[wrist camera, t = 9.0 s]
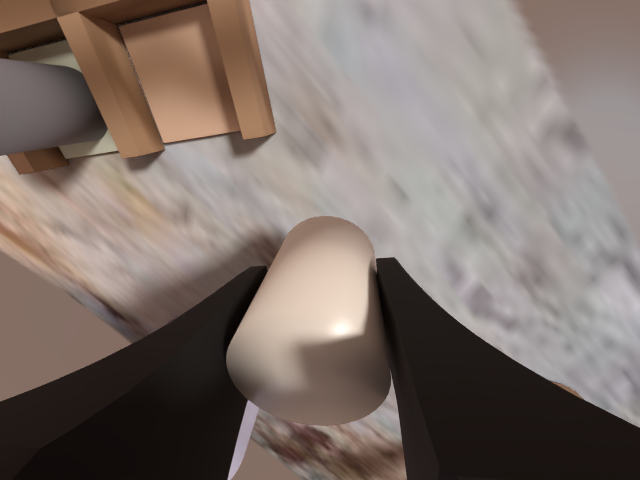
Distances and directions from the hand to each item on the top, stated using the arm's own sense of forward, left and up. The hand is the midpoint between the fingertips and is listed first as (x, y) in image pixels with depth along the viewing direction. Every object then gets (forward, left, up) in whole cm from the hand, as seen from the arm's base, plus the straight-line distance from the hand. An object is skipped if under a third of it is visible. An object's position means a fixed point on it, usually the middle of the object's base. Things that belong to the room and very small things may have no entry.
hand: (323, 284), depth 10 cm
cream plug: (0, 0, -2) cm, 2 cm away
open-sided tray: (+9, +11, -8) cm, 16 cm away
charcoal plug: (+8, +15, -8) cm, 19 cm away
